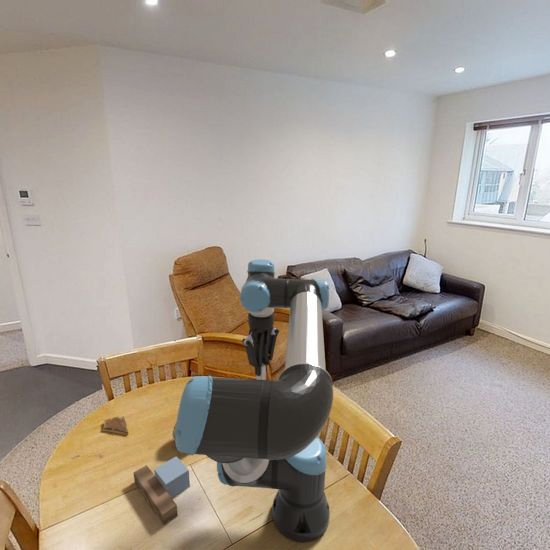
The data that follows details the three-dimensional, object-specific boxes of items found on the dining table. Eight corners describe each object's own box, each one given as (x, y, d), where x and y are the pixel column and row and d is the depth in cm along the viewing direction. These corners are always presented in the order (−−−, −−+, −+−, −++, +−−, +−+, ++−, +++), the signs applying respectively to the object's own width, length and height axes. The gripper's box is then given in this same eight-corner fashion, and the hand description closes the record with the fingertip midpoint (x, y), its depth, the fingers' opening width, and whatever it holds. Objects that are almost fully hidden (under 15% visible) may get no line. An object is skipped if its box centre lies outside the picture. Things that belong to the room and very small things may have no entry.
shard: (129, 436, 122) (128, 432, 122) (104, 444, 118) (103, 440, 118) (124, 418, 131) (123, 414, 131) (101, 425, 127) (101, 420, 127)
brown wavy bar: (177, 515, 94) (176, 505, 93) (163, 525, 91) (162, 514, 90) (147, 474, 107) (146, 464, 106) (134, 482, 104) (133, 472, 103)
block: (189, 486, 103) (188, 470, 101) (167, 501, 98) (165, 484, 96) (177, 472, 108) (176, 456, 106) (155, 485, 103) (154, 469, 101)
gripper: (268, 303, 111) (268, 370, 117) (235, 314, 102) (236, 386, 109) (285, 310, 106) (284, 380, 112) (252, 322, 97) (252, 397, 104)
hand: (261, 382), depth 110 cm, fingers closed
